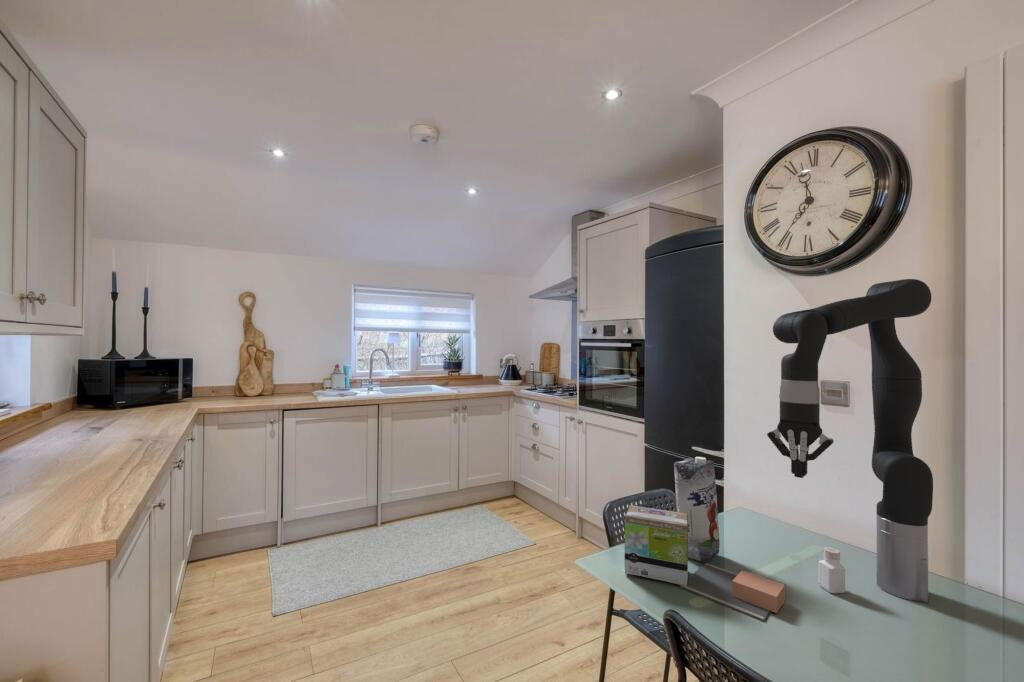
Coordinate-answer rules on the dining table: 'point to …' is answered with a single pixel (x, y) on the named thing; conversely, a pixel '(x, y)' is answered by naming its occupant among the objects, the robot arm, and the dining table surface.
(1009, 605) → the dining table surface
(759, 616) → the tray
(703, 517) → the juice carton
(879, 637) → the dining table surface
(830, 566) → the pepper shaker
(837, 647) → the dining table surface
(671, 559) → the tea box
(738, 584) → the brick
